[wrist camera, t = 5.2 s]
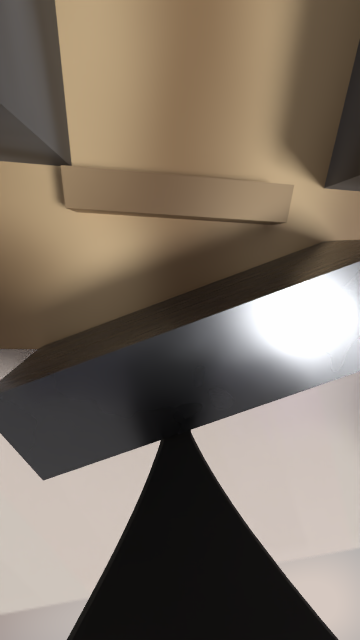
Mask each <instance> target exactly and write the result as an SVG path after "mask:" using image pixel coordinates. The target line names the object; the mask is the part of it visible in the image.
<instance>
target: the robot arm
mask: <svg viewBox="0 0 360 640" xmlns="http://www.w3.org/2000/svg"><path fill="white" fill-rule="evenodd" d="M67 640H338V639H337V637H336V636H335V635H334V634H333V633H332V632H331V630H330V629H329V628H328V627H327V626H326V624H325V623H324V622H323V621H322V620H321V619H320V617H319V616H318V615H317V614H316V612H315V611H314V610H313V609H312V608H311V606H310V605H309V604H308V603H307V601H306V600H305V599H304V598H303V597H302V595H301V594H300V593H299V592H298V590H297V589H296V588H295V587H294V585H293V584H292V583H291V582H290V581H289V579H288V578H287V577H286V575H285V574H284V573H283V572H282V570H281V569H280V568H279V567H278V565H277V564H276V562H275V561H274V560H273V558H272V557H271V556H270V555H269V553H268V552H267V551H266V549H265V548H264V547H263V545H262V544H261V543H260V541H259V540H258V539H257V538H256V536H255V535H254V534H253V532H252V531H251V530H250V528H249V527H248V525H247V524H246V522H245V521H244V520H243V518H242V517H241V515H240V514H239V513H238V511H237V510H236V508H235V507H234V505H233V504H232V502H231V501H230V499H229V498H228V496H227V495H226V493H225V492H224V490H223V489H222V487H221V486H220V484H219V482H218V481H217V479H216V477H215V476H214V474H213V473H212V471H211V469H210V467H209V466H208V464H207V462H206V461H205V459H204V457H203V455H202V453H201V451H200V450H199V448H198V446H197V444H196V442H195V440H194V438H193V436H192V434H191V430H188V431H185V432H182V433H179V434H176V435H174V436H171V437H168V438H165V439H162V440H161V442H160V445H159V448H158V451H157V454H156V457H155V460H154V462H153V465H152V468H151V470H150V473H149V476H148V478H147V481H146V483H145V485H144V488H143V490H142V493H141V495H140V497H139V499H138V502H137V504H136V506H135V508H134V511H133V513H132V515H131V517H130V519H129V521H128V523H127V526H126V528H125V530H124V532H123V534H122V536H121V538H120V540H119V542H118V544H117V546H116V548H115V550H114V552H113V554H112V556H111V558H110V560H109V562H108V564H107V566H106V568H105V570H104V572H103V574H102V575H101V577H100V579H99V581H98V583H97V585H96V587H95V588H94V590H93V592H92V594H91V596H90V598H89V600H88V602H87V603H86V605H85V607H84V609H83V611H82V613H81V615H80V616H79V618H78V620H77V622H76V624H75V626H74V628H73V630H72V631H71V633H70V635H69V637H68V639H67Z"/></svg>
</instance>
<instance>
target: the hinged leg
mask: <svg viewBox="0 0 360 640" xmlns="http://www.w3.org/2000/svg"><path fill="white" fill-rule="evenodd" d="M359 371H360V240H338V241H323V242H321V243H318V244H315V245H313V246H310V247H307V248H304V249H302V250H299V251H296V252H294V253H291V254H288V255H286V256H283V257H280V258H278V259H275V260H272V261H270V262H267V263H264V264H262V265H259V266H256V267H254V268H251V269H248V270H245V271H243V272H240V273H237V274H235V275H232V276H229V277H227V278H224V279H221V280H219V281H216V282H213V283H211V284H208V285H205V286H203V287H200V288H197V289H194V290H192V291H189V292H186V293H184V294H181V295H178V296H176V297H173V298H170V299H168V300H165V301H162V302H160V303H157V304H154V305H152V306H149V307H146V308H144V309H141V310H138V311H135V312H133V313H130V314H127V315H125V316H122V317H119V318H117V319H114V320H111V321H109V322H106V323H103V324H101V325H98V326H95V327H93V328H90V329H87V330H84V331H82V332H79V333H76V334H74V335H71V336H68V337H66V338H63V339H60V340H58V341H55V342H52V343H50V344H47V345H44V346H42V347H40V348H39V349H38V350H37V351H36V352H34V353H33V354H32V355H31V356H29V357H28V358H27V359H26V360H25V361H23V362H22V363H21V364H20V365H19V366H17V367H16V368H15V369H14V370H12V371H11V372H10V373H9V374H8V375H6V376H5V377H4V378H3V379H1V380H0V433H1V434H2V435H3V437H4V438H5V439H6V440H7V441H8V442H9V443H10V444H11V445H12V446H13V448H14V449H15V450H16V451H17V452H18V453H19V454H20V455H21V456H22V457H23V459H24V460H25V461H26V462H27V463H28V464H29V465H30V466H31V467H32V469H33V470H34V471H35V472H36V473H37V474H38V475H39V476H40V477H41V478H42V480H46V479H49V478H52V477H55V476H57V475H60V474H63V473H66V472H69V471H72V470H75V469H78V468H81V467H84V466H87V465H89V464H92V463H95V462H98V461H101V460H104V459H107V458H110V457H113V456H116V455H118V454H121V453H124V452H127V451H130V450H133V449H136V448H139V447H142V446H145V445H147V444H150V443H153V442H156V441H159V440H162V439H165V438H168V437H171V436H174V435H176V434H179V433H182V432H185V431H188V430H191V429H194V428H197V427H200V426H203V425H206V424H208V423H211V422H214V421H217V420H220V419H223V418H226V417H229V416H232V415H235V414H237V413H240V412H243V411H246V410H249V409H252V408H255V407H258V406H261V405H264V404H266V403H269V402H272V401H275V400H278V399H281V398H284V397H287V396H290V395H293V394H295V393H298V392H301V391H304V390H307V389H310V388H313V387H316V386H319V385H322V384H325V383H327V382H330V381H333V380H336V379H339V378H342V377H345V376H348V375H351V374H354V373H356V372H359Z"/></svg>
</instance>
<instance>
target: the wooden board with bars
mask: <svg viewBox="0 0 360 640" xmlns="http://www.w3.org/2000/svg"><path fill="white" fill-rule="evenodd" d="M338 240H360V0H0V349H39V348H40V347H42V346H44V345H47V344H50V343H52V342H55V341H58V340H60V339H63V338H66V337H68V336H71V335H74V334H76V333H79V332H82V331H84V330H87V329H90V328H93V327H95V326H98V325H101V324H103V323H106V322H109V321H111V320H114V319H117V318H119V317H122V316H125V315H127V314H130V313H133V312H135V311H138V310H141V309H144V308H146V307H149V306H152V305H154V304H157V303H160V302H162V301H165V300H168V299H170V298H173V297H176V296H178V295H181V294H184V293H186V292H189V291H192V290H194V289H197V288H200V287H203V286H205V285H208V284H211V283H213V282H216V281H219V280H221V279H224V278H227V277H229V276H232V275H235V274H237V273H240V272H243V271H245V270H248V269H251V268H254V267H256V266H259V265H262V264H264V263H267V262H270V261H272V260H275V259H278V258H280V257H283V256H286V255H288V254H291V253H294V252H296V251H299V250H302V249H304V248H307V247H310V246H313V245H315V244H318V243H321V242H323V241H338Z"/></svg>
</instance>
